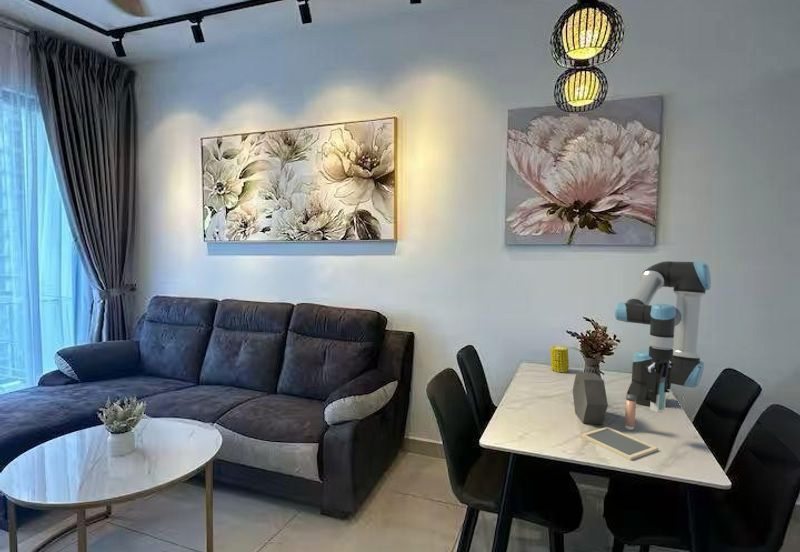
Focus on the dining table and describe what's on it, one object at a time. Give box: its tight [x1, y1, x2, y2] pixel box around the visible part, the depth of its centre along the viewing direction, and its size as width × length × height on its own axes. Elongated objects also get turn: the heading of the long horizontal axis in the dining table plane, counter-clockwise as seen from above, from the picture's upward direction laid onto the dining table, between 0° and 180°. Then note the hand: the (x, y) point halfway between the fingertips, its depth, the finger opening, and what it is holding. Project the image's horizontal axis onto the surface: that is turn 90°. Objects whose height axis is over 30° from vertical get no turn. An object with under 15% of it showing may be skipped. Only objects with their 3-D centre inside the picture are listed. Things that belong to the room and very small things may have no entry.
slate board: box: [579, 426, 659, 461], centre depth 152 cm, size 15×19×1 cm
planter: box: [572, 371, 608, 425], centre depth 173 cm, size 17×8×21 cm
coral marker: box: [624, 393, 637, 431], centre depth 164 cm, size 4×4×13 cm
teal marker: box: [653, 376, 665, 414], centre depth 155 cm, size 4×4×13 cm
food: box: [549, 344, 570, 373], centre depth 241 cm, size 15×12×10 cm
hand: (657, 409), depth 155 cm, fingers closed on teal marker, 3 cm apart
